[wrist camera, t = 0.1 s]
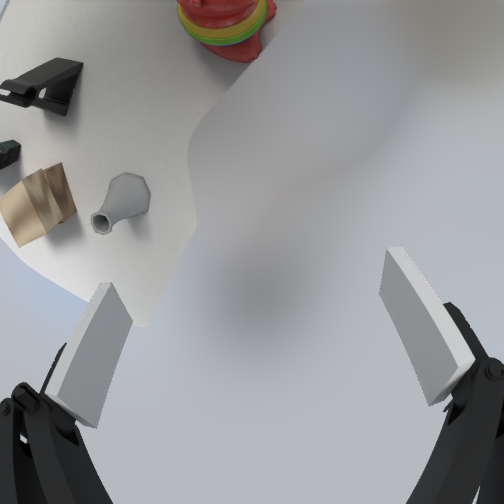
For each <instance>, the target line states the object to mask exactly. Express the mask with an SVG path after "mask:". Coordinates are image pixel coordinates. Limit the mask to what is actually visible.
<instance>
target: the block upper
mask: <svg viewBox="0 0 504 504" xmlns="http://www.w3.org/2000/svg"><path fill="white" fill-rule="evenodd" d="M0 212H1V214H2V216H3V218H4V220H5V222H6V224H7V226H8V228H9V230H10V232H11V234H12V236H13V238H14V240H15V242H16V243H17V245H18V247H19V248H20V247H22V246H23V245H25V244H27V243H29V242H31V241H33V240H35V239H37V238H39V237H41V236H43V235H45V234H47V233H48V232H49V231H50V230H51V229H52V228H53V227H54V226H56V225H57V224H58V223H59V222H60V221H61V220H62V219H63V218H64V217H63V215H62V213H61V211H60V209H59V207H58V205H57V203H56V201H55V199H54V196H53V194H52V192H51V190H50V188H49V185H48V183H47V181H46V178H45V176H44V174H43V171H42V169H40V170H38V171H36V172H35V173H33V174H31V175H29V176H28V177H26V178H24V179H23V180H21V181H20V182H19V183H17V184H16V185H15V186H14V187H12V188H11V189H10V190H9V191H8V192H6V193H5V194H4V195H3V196H2V197H1V198H0Z"/></svg>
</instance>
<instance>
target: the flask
mask: <svg viewBox="0 0 504 504" xmlns="http://www.w3.org/2000/svg"><path fill="white" fill-rule="evenodd" d="M149 198H150V192H149V190H148V188H147V186H146V183H145V181H144V179H143V177H140V176H137V175H133V174H129V173H124V174H122V175H120V176H118V177H116V178H114V179H112V180H111V183H110V186H109V190H108V193H107V196H106V199H105V202H104V204H103V206H102V207H101V209H100V210H99V211H98V212H96V213H94V214H92V215H91V225H92V227H93V229H94V230H95V232H96V233H99V234H102V235H105V234H107V233H109V232H111V231H112V226H113V225H114V224H115V223H116V222H118V221H119V220H121V219H124V218H128V217H132V216H134V215H137V214H139V213H142V212H144V211H147V210H148V204H149Z"/></svg>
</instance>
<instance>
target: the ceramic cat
mask: <svg viewBox="0 0 504 504" xmlns="http://www.w3.org/2000/svg"><path fill="white" fill-rule="evenodd" d="M20 146H21V145H20V144H19V143H17V142H16V141H14V140H10V141H5V142H1V143H0V170H1V169H3V168H5V167H7V166H9V165H11V164H12V163H14V162H16V161H17V159H18V155H19V150H20Z"/></svg>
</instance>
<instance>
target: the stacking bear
mask: <svg viewBox="0 0 504 504" xmlns="http://www.w3.org/2000/svg"><path fill="white" fill-rule="evenodd" d="M276 8H277V6H276V4H274V3H273V0H177V10H178V16H179V19H180V22H181V24H182V26H183V27H184V29H185V30H186V31H187V32H188V33H189V34H190V35H191V36H192V37H193V38H195V39H197V40H198V41H200V43H202V44H203V45H204V46H205V47H206V48H207V49H209V50H210V51H212V52H213V53H215V54H217V55H219V56H221V57H223V58H226V59H229V60H233V61H237V62H242V63H248V62H250V61H251V60H254V59H257V58H258V54H259V53H260V52H261V50H262V47H261V43H260V39H259V34H260V30H261V28H262V26H263V25H264V23H266V22H267V21H268V20H270V19H271V18H272V17H274V15H275V10H276Z"/></svg>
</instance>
